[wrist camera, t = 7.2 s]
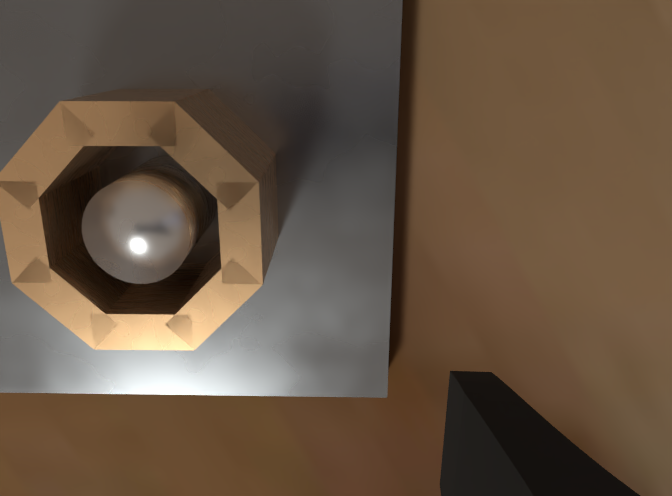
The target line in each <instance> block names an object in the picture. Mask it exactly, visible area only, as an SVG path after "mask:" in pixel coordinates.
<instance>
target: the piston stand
mask: <svg viewBox="0 0 672 496" xmlns="http://www.w3.org/2000/svg"><path fill="white" fill-rule="evenodd" d="M402 3H403V0H0V172H1V171H2V170H3V168H4V167H5V166H6V165H7V164H8V162H9V161H10V160H11V159H12V158H13V156H14V155H15V154H16V153H17V152H18V150H19V149H20V148H21V147H22V146H23V144H24V143H25V142H26V141H27V140H28V138H29V137H30V136H31V135H32V134H33V132H34V131H35V130H36V129H37V128H38V127H39V125H40V124H41V123H42V122H43V121H44V119H45V118H46V117H47V116H48V115H49V113H50V112H51V111H52V110H53V109H54V107H55V106H56V105H57V104H58V103H59V101H63V100H68V99H73V98H77V97H82V96H87V95H92V94H96V93H101V92H106V91H111V90H115V89H209V90H211V91H212V92H213V93H214V94H215V95H216V96H217V97H218V98H219V99H220V100H221V101H222V102H223V103H224V104H225V105H226V106H228V107H229V108H230V109H231V110H232V111H233V112H234V113H235V114H236V115H237V116H238V117H239V118H240V119H241V120H242V121H243V122H244V123H245V124H246V125H247V126H248V127H249V128H250V129H251V130H252V131H253V132H254V133H255V134H256V135H257V136H258V137H259V138H260V139H261V140H262V141H263V142H264V143H265V144H266V145H268V146H269V147H270V148H271V149H272V150H273V151H274V152H275V153H276V170H277V205H278V241H277V244H276V247H275V250H274V253H273V256H272V259H271V262H270V265H269V268H268V271H267V274H266V277H265V280H264V283H263V285H262V286H261V287H260V288H259V289H258V290H257V291H256V292H255V293H254V294H253V295H252V296H251V297H250V298H249V299H248V300H247V301H245V302H244V303H243V304H242V305H241V306H240V307H239V308H238V309H237V310H236V311H235V312H234V313H233V314H232V315H231V316H230V317H229V318H228V319H227V320H226V321H225V322H224V323H222V324H221V325H220V326H219V327H218V328H217V329H216V330H215V331H214V332H213V333H212V334H211V335H210V336H209V337H208V338H207V339H206V340H205V341H204V342H203V343H202V344H201V345H199V346H198V347H197V348H196V349H195V350H94V349H93V348H91V347H90V346H89V345H88V344H86V343H85V342H84V341H83V340H82V339H80V338H79V337H78V336H77V335H75V334H74V333H73V332H72V331H70V330H69V329H68V328H67V327H65V326H64V325H63V324H62V323H60V322H59V321H58V320H57V319H56V318H54V317H53V316H52V315H51V314H49V313H48V312H47V311H46V310H44V309H43V308H42V307H41V306H39V305H38V304H37V303H36V302H34V301H33V300H32V299H31V298H29V297H28V296H27V295H26V294H25V293H23V292H22V291H21V290H20V289H18V288H17V287H16V286H15V285H13V284H12V282H11V277H10V271H9V266H8V260H7V255H6V249H5V243H4V238H3V232H2V227H1V221H0V392H12V393H87V394H162V395H237V396H312V397H387V387H388V361H389V336H390V310H391V285H392V259H393V234H394V208H395V182H396V157H397V131H398V106H399V80H400V54H401V29H402ZM99 170H100V178H101V186H102V189H101V190H100V191H98V192H97V193H96V194H95V195H94V196H93V197H92V199H91V200H90V201H89V203H88V205H87V206H86V208H85V211H84V214H83V218H82V235H83V240H84V243H85V246H86V248H87V250H88V252H89V254H90V256H91V257H92V259H93V260H94V261H95V262H96V264H97V265H98V266H99V267H101V268H102V269H103V270H104V271H105V272H107V273H108V274H110V275H111V276H113V277H115V278H117V279H119V280H122V281H125V282H130V283H136V284H148V283H153V282H157V281H160V280H162V279H164V278H167V277H168V276H170V275H171V274H172V273H174V272H175V271H176V270H177V269H178V268H179V267H180V265H181V264H182V263H208V262H209V261H210V260H211V259H212V258H213V257H214V256H215V255H216V254H217V253H218V252H219V251H220V238H219V221H218V205H217V198H215V197H214V196H213V195H212V194H211V193H210V192H209V191H208V190H207V189H206V188H205V187H204V186H202V185H201V184H200V183H199V182H198V181H197V180H196V179H195V178H194V177H193V176H192V175H191V174H190V173H188V172H187V171H186V170H185V169H184V168H183V167H182V166H181V165H180V164H179V163H178V162H177V161H175V160H174V159H173V158H172V157H171V156H170V155H169V154H168V153H167V152H166V151H165V150H164V149H163V148H161V147H160V146H117V147H116V149H115V150H114V151H113V152H112V153H111V154H110V155H109V156H108V158H107V159H106V160H105V161H104V162H103V163H102V164H101V165H100V167H99Z"/></svg>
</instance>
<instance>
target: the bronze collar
mask: <svg viewBox="0 0 672 496" xmlns="http://www.w3.org/2000/svg"><path fill="white" fill-rule="evenodd" d="M117 146H160V147H161V148H163V149H164V150H165V151H166V152H167V153H168V154H169V155H170V156H171V157H172V158H173V159H174V160H175V161H177V162H178V163H179V164H180V165H181V166H182V167H183V168H184V169H185V170H186V171H187V172H188V173H190V174H191V175H192V176H193V177H194V178H195V179H196V180H197V181H198V182H199V183H200V184H201V185H202V186H204V187H205V188H206V189H207V190H208V191H209V192H210V193H211V194H212V195H213V196H214V197H215V198H217V205H218V221H219V238H220V251H219V252H218V253H217V254H216V255H215V256H214V257H213V258H212V259H211V260H210V261H209V262H208V263H182V264H181V265H180V267H179V268H178V269H177V270H176V271H175V272H174V273H172V274H171V275H170V276H168V277H167V278H164V279H162V280H160V281H157V282H153V283H148V284H136V283H130V282H125V281H122V280H119V279H117V278H115V277H113V276H111V275H110V274H108V273H107V272H105V271H104V270H103V269H102V268H101V267H99V266H98V265H97V264H96V262H95V261H94V260H93V259H92V257H91V256H90V254H89V252H88V250H87V248H86V246H85V243H84V240H83V235H82V218H83V214H84V211H85V208H86V206H87V205H88V203H89V201H90V200H91V199H92V197H93V196H94V195H95V194H96V193H97V192H98V191H100V190H101V189H102V186H101V178H100V170H99V167H100V165H101V164H102V163H103V162H104V161H105V160H106V159H107V158H108V156H109V155H110V154H111V153H112V152H113V151H114V150H115V149H116V147H117ZM0 221H1V227H2V232H3V238H4V243H5V249H6V255H7V260H8V266H9V271H10V277H11V282H12V284H13V285H15V286H16V287H17V288H18V289H20V290H21V291H22V292H23V293H25V294H26V295H27V296H28V297H29V298H31V299H32V300H33V301H34V302H36V303H37V304H38V305H39V306H41V307H42V308H43V309H44V310H46V311H47V312H48V313H49V314H51V315H52V316H53V317H54V318H56V319H57V320H58V321H59V322H60V323H62V324H63V325H64V326H65V327H67V328H68V329H69V330H70V331H72V332H73V333H74V334H75V335H77V336H78V337H79V338H80V339H82V340H83V341H84V342H85V343H86V344H88V345H89V346H90V347H91V348H93V349H94V350H195V349H196V348H197V347H198V346H199V345H201V344H202V343H203V342H204V341H205V340H206V339H207V338H208V337H209V336H210V335H211V334H212V333H213V332H214V331H215V330H216V329H217V328H218V327H219V326H220V325H221V324H222V323H224V322H225V321H226V320H227V319H228V318H229V317H230V316H231V315H232V314H233V313H234V312H235V311H236V310H237V309H238V308H239V307H240V306H241V305H242V304H243V303H244V302H245V301H247V300H248V299H249V298H250V297H251V296H252V295H253V294H254V293H255V292H256V291H257V290H258V289H259V288H260V287H261V286H262V285H263V283H264V280H265V277H266V274H267V271H268V268H269V265H270V262H271V259H272V256H273V253H274V250H275V247H276V244H277V241H278V205H277V170H276V153H275V152H274V151H273V150H272V149H271V148H270V147H269V146H268V145H266V144H265V143H264V142H263V141H262V140H261V139H260V138H259V137H258V136H257V135H256V134H255V133H254V132H253V131H252V130H251V129H250V128H249V127H248V126H247V125H246V124H245V123H244V122H243V121H242V120H241V119H240V118H239V117H238V116H237V115H236V114H235V113H234V112H233V111H232V110H231V109H230V108H229V107H228V106H226V105H225V104H224V103H223V102H222V101H221V100H220V99H219V98H218V97H217V96H216V95H215V94H214V93H213V92H212V91H211V90H209V89H115V90H111V91H106V92H101V93H96V94H92V95H87V96H82V97H77V98H73V99H68V100H63V101H59V103H58V104H57V105H56V106H55V107H54V109H53V110H52V111H51V112H50V113H49V115H48V116H47V117H46V118H45V119H44V121H43V122H42V123H41V124H40V125H39V127H38V128H37V129H36V130H35V131H34V132H33V134H32V135H31V136H30V137H29V138H28V140H27V141H26V142H25V143H24V144H23V146H22V147H21V148H20V149H19V150H18V152H17V153H16V154H15V155H14V156H13V158H12V159H11V160H10V161H9V162H8V164H7V165H6V166H5V167H4V168H3V170H2V171H1V172H0Z"/></svg>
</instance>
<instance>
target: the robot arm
mask: <svg viewBox="0 0 672 496" xmlns="http://www.w3.org/2000/svg"><path fill="white" fill-rule="evenodd" d="M440 489H441V496H640V495H638V494H637V493H636V492H634V491H633V490H632V489H630V488H629V487H628V486H626V485H625V484H624V483H622V482H621V481H620V480H618V479H617V478H616V477H614V476H613V475H612V474H611V473H609V472H608V471H607V470H605V469H604V468H603V467H602V466H600V465H599V464H598V463H597V462H595V461H594V460H593V459H592V458H590V457H589V456H588V455H587V454H585V453H584V452H583V451H582V450H581V449H579V448H578V447H577V446H576V445H575V444H573V443H572V442H571V441H570V440H569V439H567V438H566V437H565V436H564V435H563V434H562V433H560V432H559V431H558V430H557V429H556V428H555V427H553V426H552V425H551V424H550V423H549V422H548V421H547V420H545V419H544V418H543V417H542V416H541V415H540V414H539V413H538V412H536V411H535V410H534V409H533V408H532V407H531V406H530V405H529V404H527V403H526V402H525V401H524V400H523V399H522V398H521V397H520V396H518V395H517V394H516V393H515V392H514V391H513V390H512V389H511V388H510V387H508V386H507V385H506V384H505V383H504V382H503V381H502V380H500V379H499V378H498V377H497V376H496V375H494V374H493V373H492V372H467V371H450V379H449V390H448V401H447V412H446V423H445V434H444V445H443V456H442V467H441V478H440Z"/></svg>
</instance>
